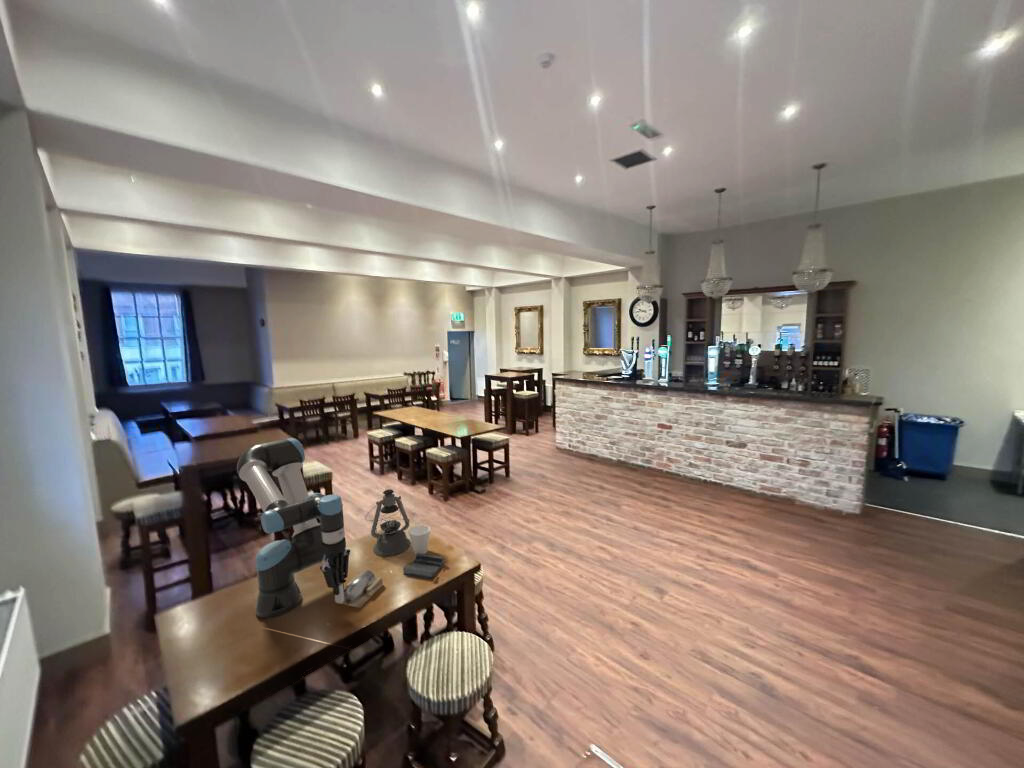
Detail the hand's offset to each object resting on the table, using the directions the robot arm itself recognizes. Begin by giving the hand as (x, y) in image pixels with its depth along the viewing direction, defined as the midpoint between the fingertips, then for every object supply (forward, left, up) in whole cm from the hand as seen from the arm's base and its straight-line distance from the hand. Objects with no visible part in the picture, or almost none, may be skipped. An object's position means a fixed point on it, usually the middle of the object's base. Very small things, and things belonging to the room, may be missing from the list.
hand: (339, 600), depth 146 cm
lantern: (-9, +46, -6) cm, 47 cm away
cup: (+8, +44, -6) cm, 45 cm away
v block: (+16, +32, -5) cm, 36 cm away
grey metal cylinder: (0, +11, -5) cm, 12 cm away
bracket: (0, +11, -5) cm, 12 cm away
